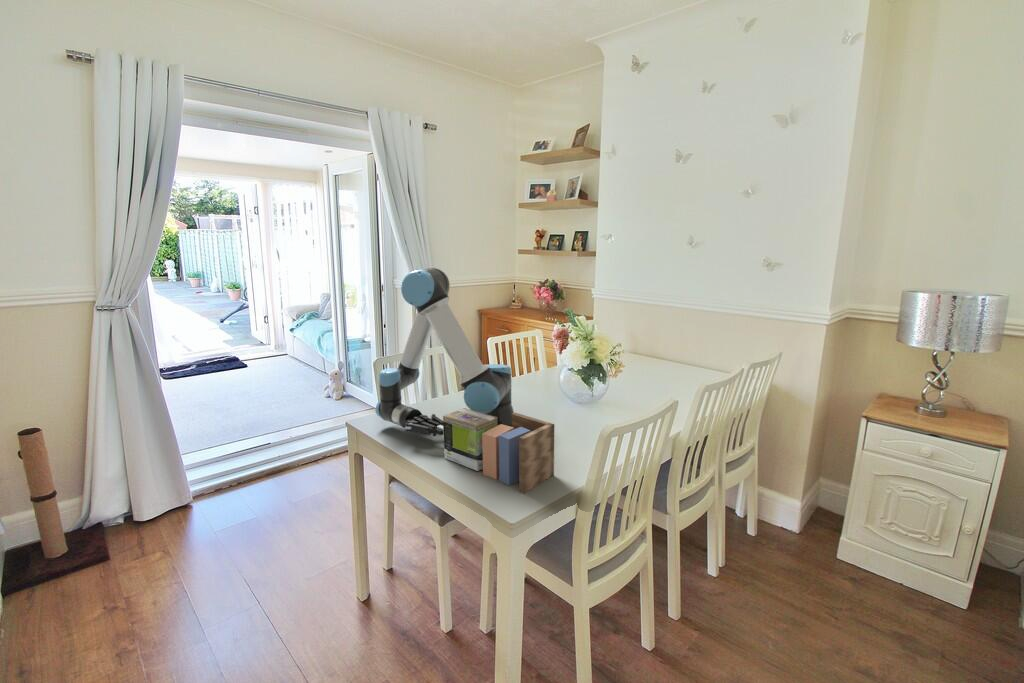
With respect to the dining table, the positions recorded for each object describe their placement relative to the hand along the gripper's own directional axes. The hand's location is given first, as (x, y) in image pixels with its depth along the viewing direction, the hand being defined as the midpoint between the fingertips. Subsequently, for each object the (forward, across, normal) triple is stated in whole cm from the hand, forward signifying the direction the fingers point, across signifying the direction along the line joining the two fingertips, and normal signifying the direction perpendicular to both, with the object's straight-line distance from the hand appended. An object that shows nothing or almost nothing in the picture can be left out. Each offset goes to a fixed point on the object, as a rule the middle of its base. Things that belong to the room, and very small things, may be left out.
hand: (451, 434), depth 154 cm
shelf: (+26, -3, -7) cm, 27 cm away
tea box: (+8, -1, -7) cm, 10 cm away
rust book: (+19, -1, -7) cm, 21 cm away
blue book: (+26, -1, -7) cm, 27 cm away
